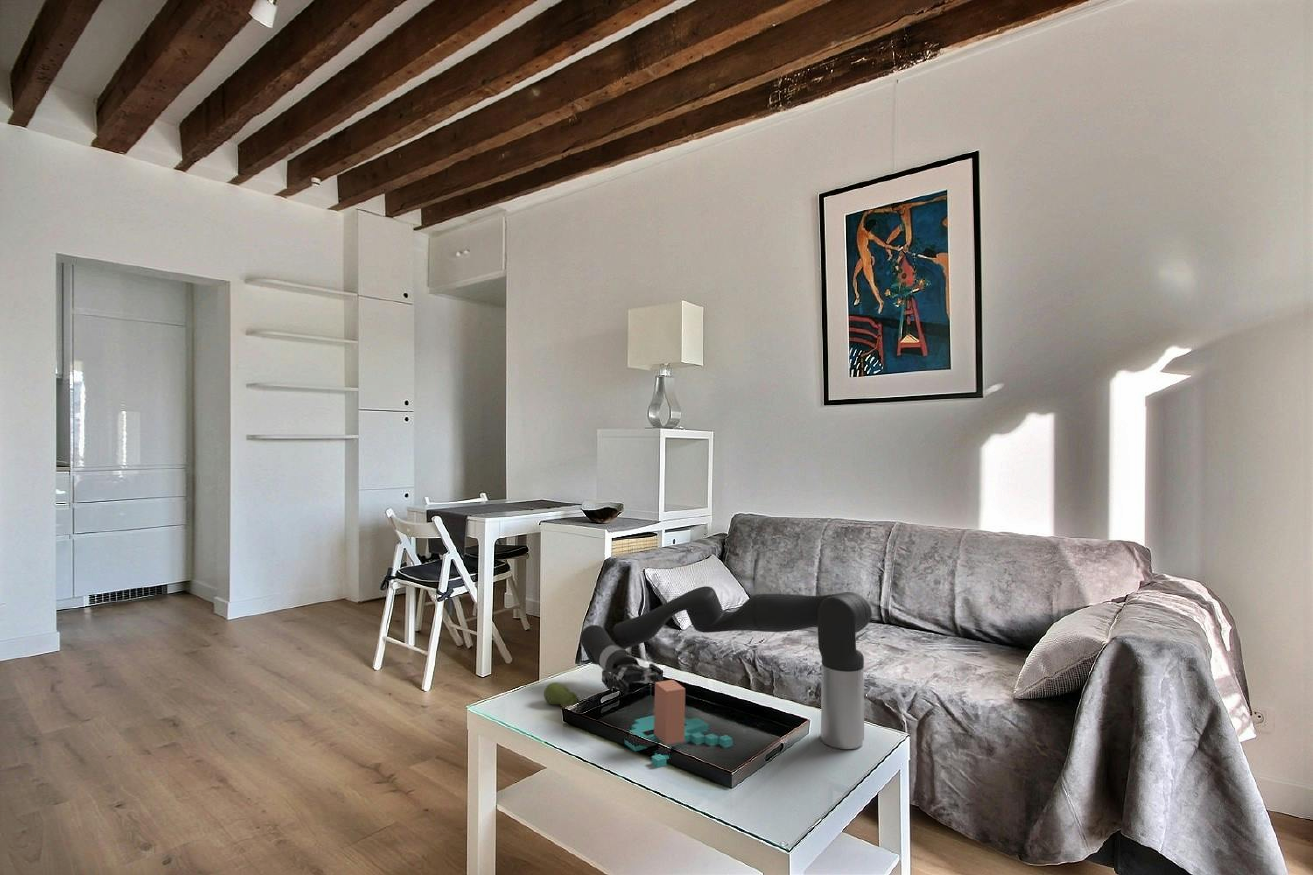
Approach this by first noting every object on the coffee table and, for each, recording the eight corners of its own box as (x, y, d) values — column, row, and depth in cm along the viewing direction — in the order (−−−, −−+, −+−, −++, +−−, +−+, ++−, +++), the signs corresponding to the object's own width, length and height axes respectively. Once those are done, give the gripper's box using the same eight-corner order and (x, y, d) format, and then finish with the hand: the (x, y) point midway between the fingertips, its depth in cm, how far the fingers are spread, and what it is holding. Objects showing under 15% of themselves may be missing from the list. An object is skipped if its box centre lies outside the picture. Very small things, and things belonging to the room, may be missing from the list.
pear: (555, 676, 181) (585, 691, 176) (552, 696, 182) (582, 711, 176) (541, 683, 177) (571, 697, 171) (538, 702, 177) (568, 718, 172)
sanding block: (672, 732, 158) (672, 679, 158) (684, 743, 152) (685, 688, 152) (654, 735, 156) (654, 682, 156) (665, 746, 150) (666, 691, 150)
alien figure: (732, 748, 155) (680, 717, 172) (732, 738, 155) (681, 708, 172) (657, 771, 144) (609, 735, 161) (657, 760, 144) (610, 725, 161)
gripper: (592, 652, 173) (616, 675, 159) (644, 646, 179) (672, 667, 165) (591, 682, 173) (615, 707, 159) (644, 675, 179) (671, 698, 165)
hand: (644, 686), depth 162 cm, fingers open, 8 cm apart
